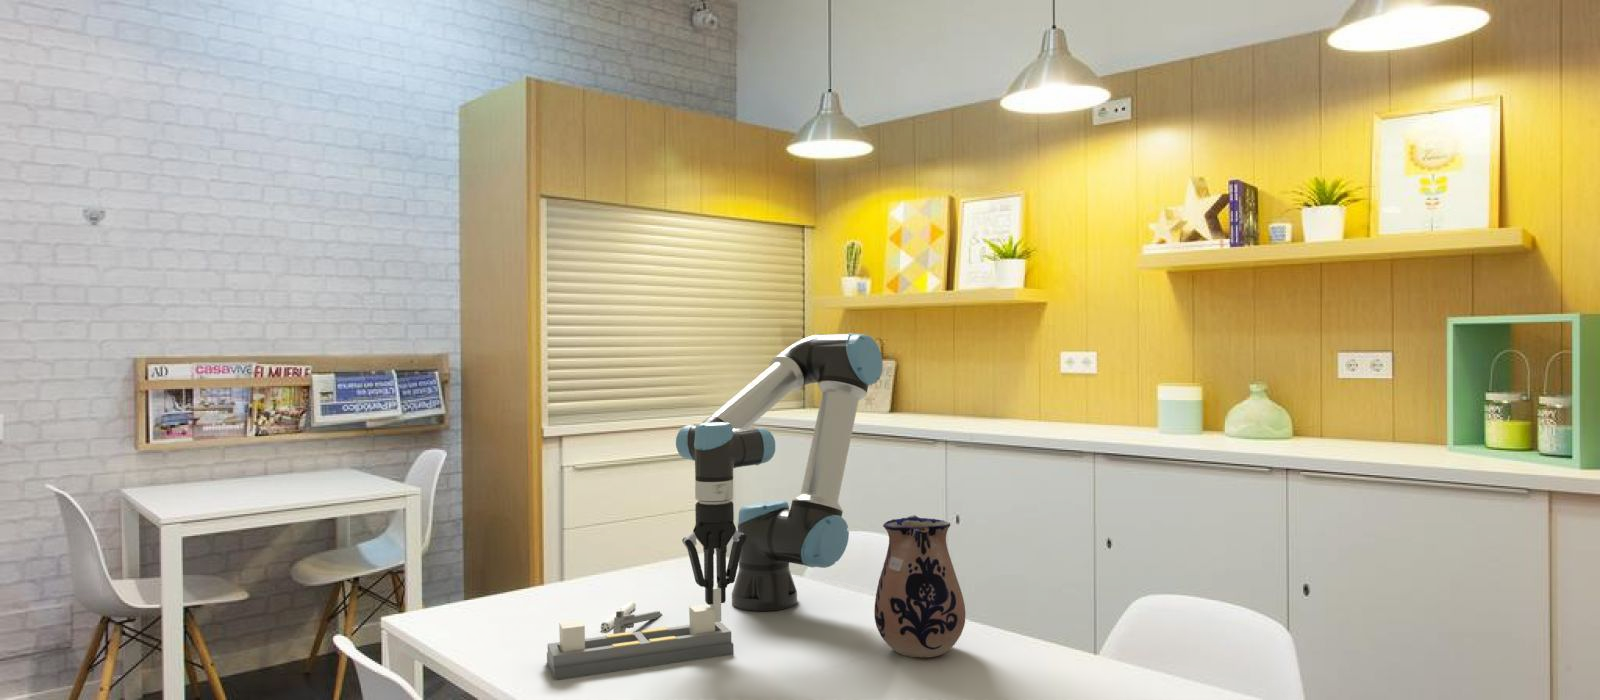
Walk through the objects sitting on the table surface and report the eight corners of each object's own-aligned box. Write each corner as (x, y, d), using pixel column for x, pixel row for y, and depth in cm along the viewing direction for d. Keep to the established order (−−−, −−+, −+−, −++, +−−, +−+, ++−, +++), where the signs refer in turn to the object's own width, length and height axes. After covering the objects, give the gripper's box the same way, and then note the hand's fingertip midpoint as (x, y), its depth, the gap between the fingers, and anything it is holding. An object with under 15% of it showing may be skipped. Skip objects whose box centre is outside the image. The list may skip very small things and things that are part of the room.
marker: (630, 607, 219) (629, 597, 219) (638, 608, 219) (638, 597, 219) (600, 631, 201) (600, 620, 201) (609, 632, 201) (609, 621, 201)
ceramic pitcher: (887, 669, 176) (885, 534, 175) (862, 634, 196) (860, 513, 196) (978, 663, 178) (977, 529, 178) (944, 629, 199) (942, 509, 199)
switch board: (717, 638, 195) (717, 618, 195) (733, 653, 185) (733, 632, 185) (546, 662, 182) (546, 640, 181) (554, 680, 172) (554, 656, 172)
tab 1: (581, 651, 181) (580, 620, 181) (585, 658, 177) (584, 625, 177) (559, 654, 179) (559, 622, 179) (563, 661, 176) (562, 628, 176)
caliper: (618, 644, 193) (617, 613, 193) (613, 644, 193) (613, 613, 193) (662, 616, 212) (662, 588, 212) (658, 615, 212) (657, 587, 212)
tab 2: (709, 634, 191) (708, 604, 191) (715, 639, 187) (714, 609, 187) (689, 636, 189) (689, 606, 189) (695, 642, 185) (695, 611, 185)
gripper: (687, 506, 183) (689, 629, 183) (751, 501, 188) (753, 621, 188) (677, 500, 190) (678, 619, 190) (739, 495, 195) (740, 611, 195)
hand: (715, 619), depth 189 cm, fingers closed
